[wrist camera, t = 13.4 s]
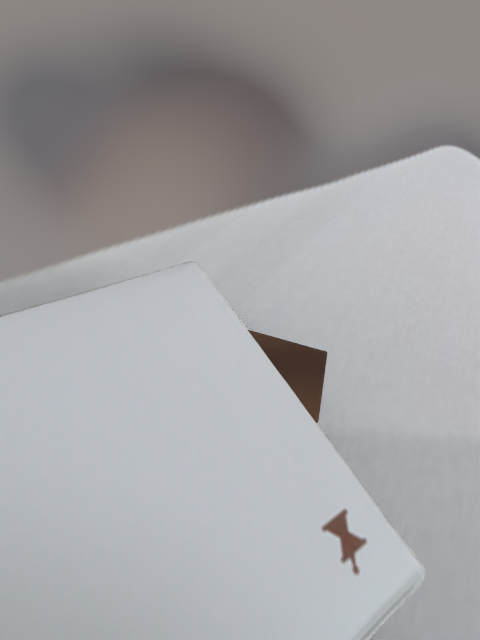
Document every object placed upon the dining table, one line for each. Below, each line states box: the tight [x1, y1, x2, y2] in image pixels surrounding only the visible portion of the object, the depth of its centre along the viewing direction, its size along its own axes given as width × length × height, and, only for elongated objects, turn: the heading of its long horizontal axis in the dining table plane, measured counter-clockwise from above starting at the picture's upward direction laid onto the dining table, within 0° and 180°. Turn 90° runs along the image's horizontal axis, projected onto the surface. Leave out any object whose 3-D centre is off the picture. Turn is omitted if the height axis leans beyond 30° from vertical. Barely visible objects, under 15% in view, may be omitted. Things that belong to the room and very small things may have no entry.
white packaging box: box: [0, 261, 425, 640], centre depth 9 cm, size 7×7×13 cm
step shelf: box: [248, 330, 327, 423], centre depth 16 cm, size 18×12×6 cm, turn 165°
